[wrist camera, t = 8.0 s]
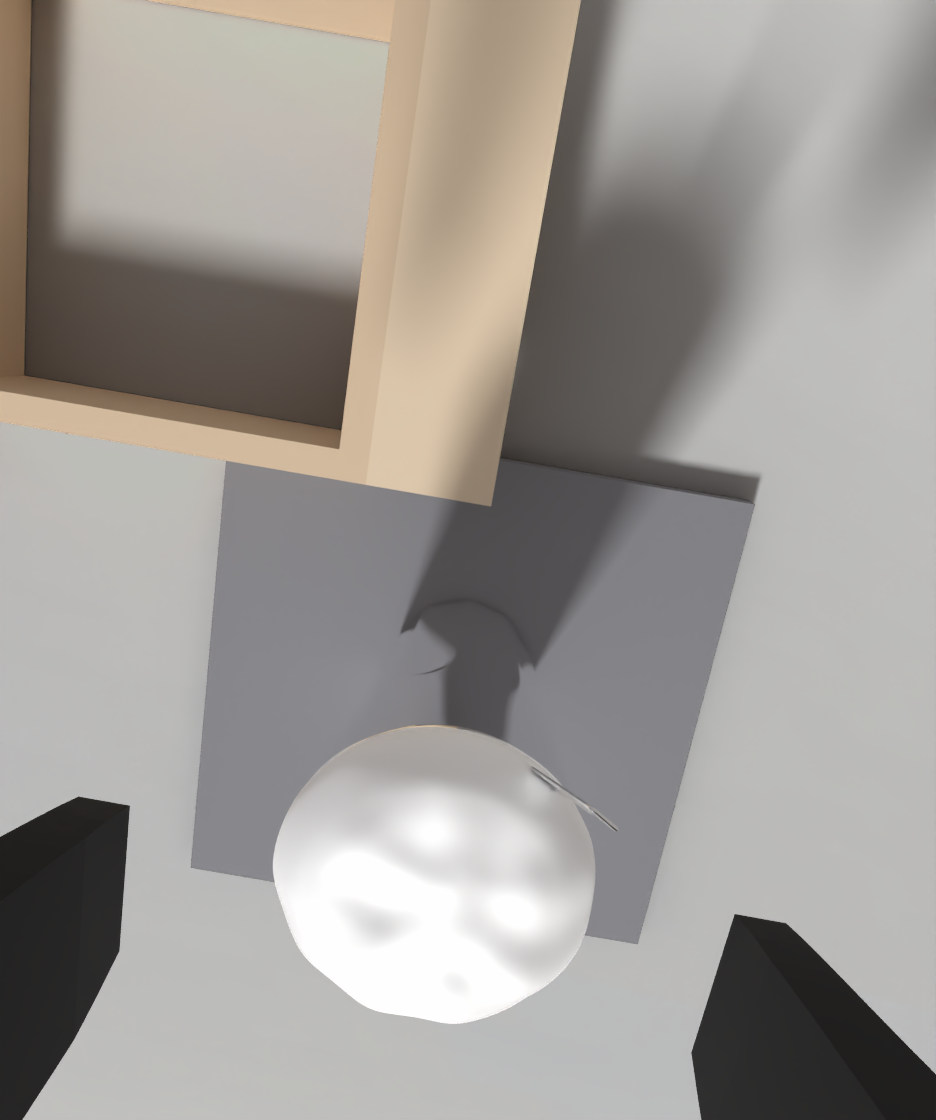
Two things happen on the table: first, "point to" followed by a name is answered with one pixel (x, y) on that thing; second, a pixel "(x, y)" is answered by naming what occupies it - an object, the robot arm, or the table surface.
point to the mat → (492, 581)
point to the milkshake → (441, 832)
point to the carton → (366, 251)
